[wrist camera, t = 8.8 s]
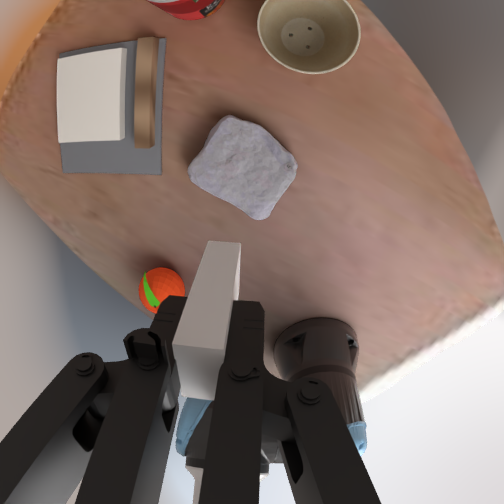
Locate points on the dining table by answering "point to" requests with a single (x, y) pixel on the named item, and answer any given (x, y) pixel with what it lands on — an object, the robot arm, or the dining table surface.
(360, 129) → the dining table surface
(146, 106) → the strip
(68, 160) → the mat
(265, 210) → the stone block
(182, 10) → the canned food
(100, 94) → the tile
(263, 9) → the flower pot
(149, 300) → the clementine
